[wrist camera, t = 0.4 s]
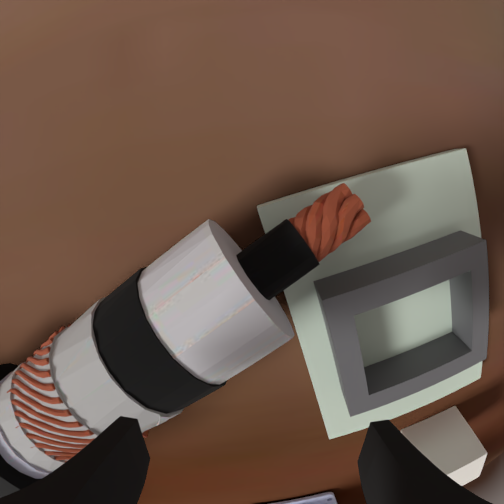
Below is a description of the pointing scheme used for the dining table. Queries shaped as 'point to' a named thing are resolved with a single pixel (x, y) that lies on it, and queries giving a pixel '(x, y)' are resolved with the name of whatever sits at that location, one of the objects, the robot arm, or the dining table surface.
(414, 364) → the board
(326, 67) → the dining table surface
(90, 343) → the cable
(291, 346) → the dining table surface
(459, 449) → the plug
